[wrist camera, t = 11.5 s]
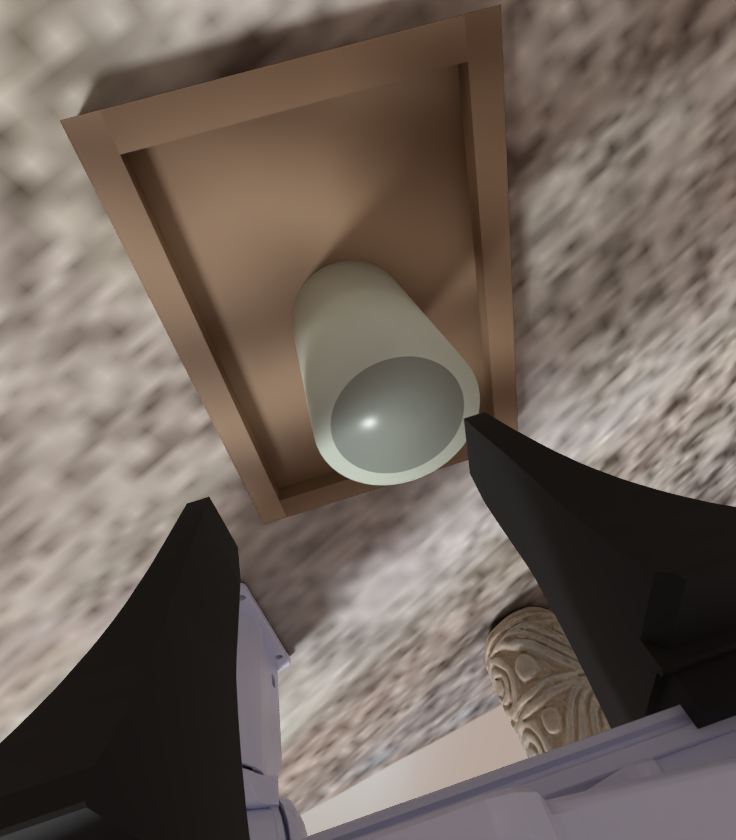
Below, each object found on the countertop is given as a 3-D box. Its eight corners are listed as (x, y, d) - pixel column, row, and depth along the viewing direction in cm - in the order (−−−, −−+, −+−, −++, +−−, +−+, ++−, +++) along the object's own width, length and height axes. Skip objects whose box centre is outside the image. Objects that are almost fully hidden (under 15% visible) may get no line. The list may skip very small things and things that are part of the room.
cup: (414, 353, 22) (485, 457, 15) (310, 384, 21) (338, 504, 15) (394, 244, 19) (472, 315, 12) (274, 279, 19) (289, 371, 12)
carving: (574, 605, 38) (688, 777, 28) (509, 658, 40) (593, 834, 30) (526, 585, 35) (635, 769, 25) (458, 643, 37) (534, 833, 27)
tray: (505, 428, 26) (518, 444, 25) (263, 504, 25) (264, 523, 24) (481, 13, 16) (500, 4, 15) (75, 120, 15) (59, 120, 14)
